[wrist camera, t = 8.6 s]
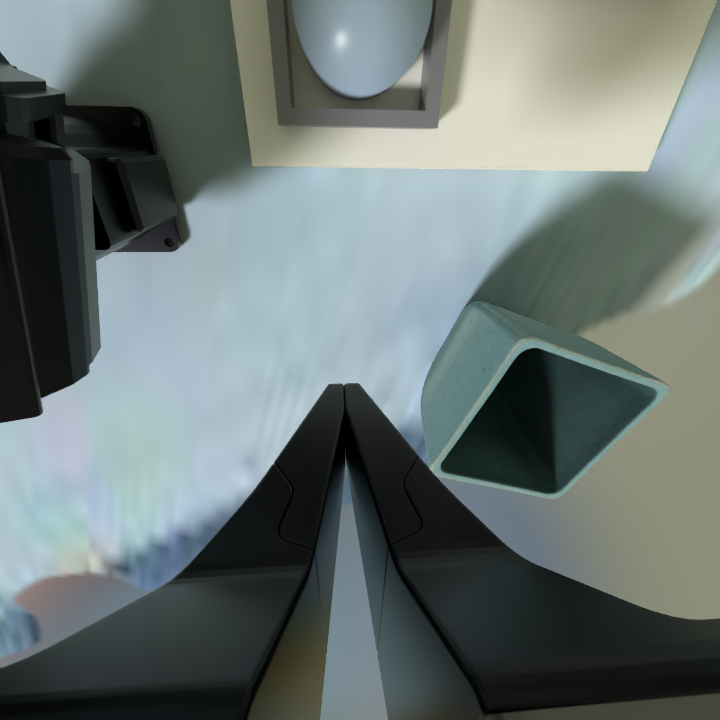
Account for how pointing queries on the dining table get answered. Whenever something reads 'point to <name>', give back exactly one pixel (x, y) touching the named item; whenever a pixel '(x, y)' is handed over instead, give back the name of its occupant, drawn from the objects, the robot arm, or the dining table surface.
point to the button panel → (480, 88)
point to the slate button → (361, 41)
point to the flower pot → (527, 403)
